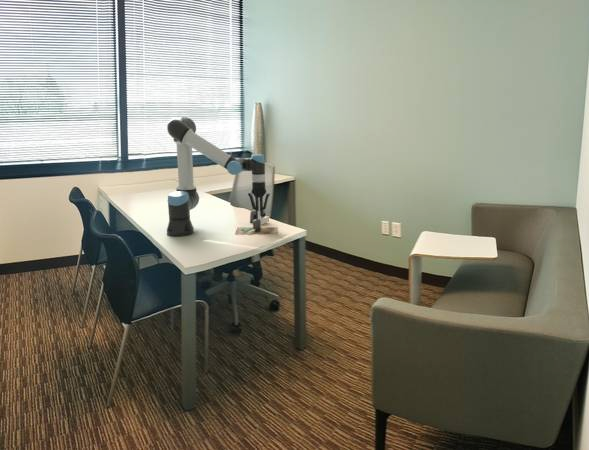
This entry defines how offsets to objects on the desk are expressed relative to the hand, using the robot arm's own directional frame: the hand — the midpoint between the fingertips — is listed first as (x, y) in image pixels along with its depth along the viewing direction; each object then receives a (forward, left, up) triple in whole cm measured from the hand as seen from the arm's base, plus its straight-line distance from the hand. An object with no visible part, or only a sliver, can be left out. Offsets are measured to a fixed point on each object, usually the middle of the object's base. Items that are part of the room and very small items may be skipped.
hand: (259, 221), depth 286 cm
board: (-1, -7, -5) cm, 9 cm away
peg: (-1, -6, -4) cm, 7 cm away
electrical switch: (-1, +13, -5) cm, 14 cm away
